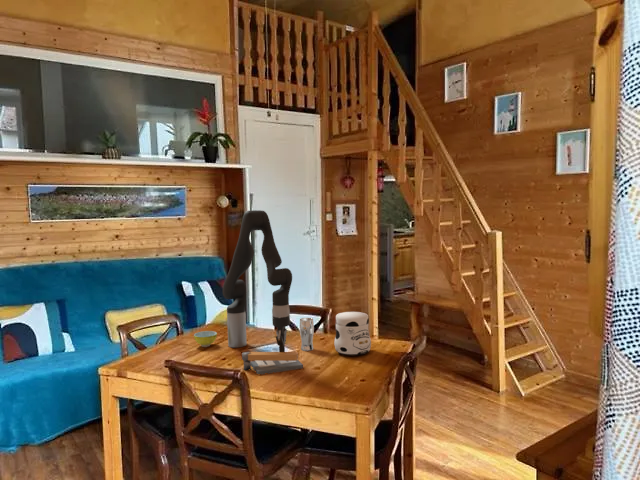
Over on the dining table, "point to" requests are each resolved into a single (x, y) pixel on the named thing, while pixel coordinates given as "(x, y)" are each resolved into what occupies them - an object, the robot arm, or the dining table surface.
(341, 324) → the milk container
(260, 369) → the label board
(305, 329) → the beer glass
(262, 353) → the swing bar
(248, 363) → the post
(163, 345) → the dining table surface
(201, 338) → the bowl
